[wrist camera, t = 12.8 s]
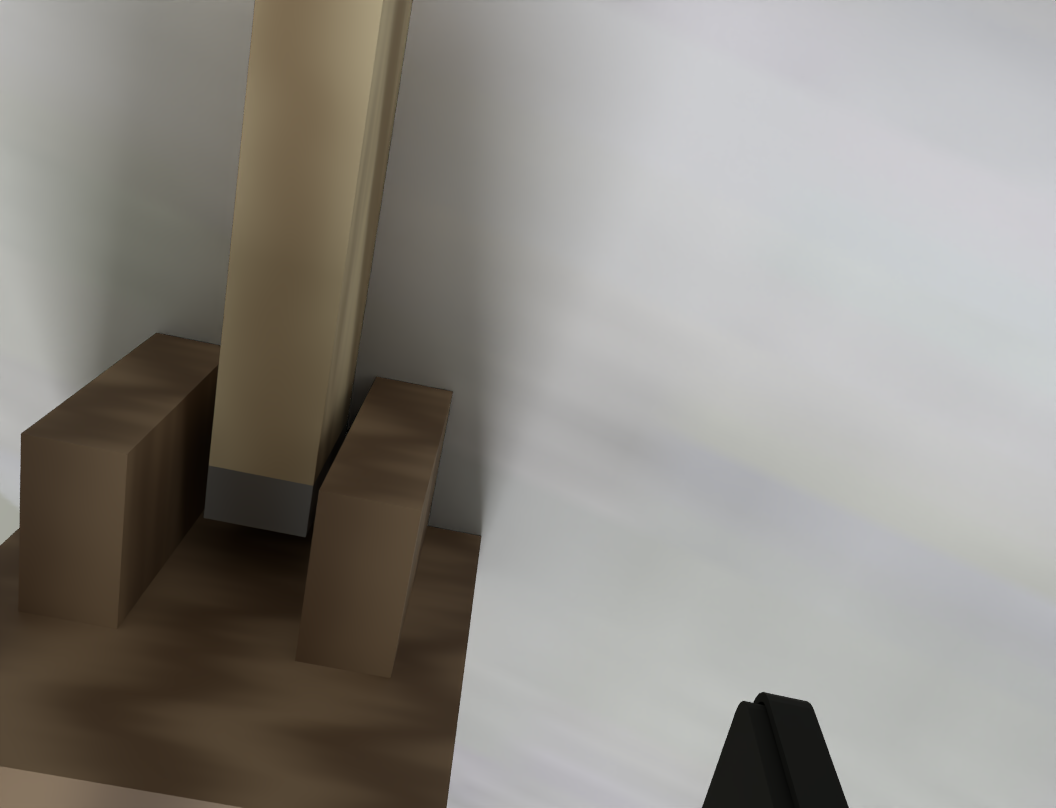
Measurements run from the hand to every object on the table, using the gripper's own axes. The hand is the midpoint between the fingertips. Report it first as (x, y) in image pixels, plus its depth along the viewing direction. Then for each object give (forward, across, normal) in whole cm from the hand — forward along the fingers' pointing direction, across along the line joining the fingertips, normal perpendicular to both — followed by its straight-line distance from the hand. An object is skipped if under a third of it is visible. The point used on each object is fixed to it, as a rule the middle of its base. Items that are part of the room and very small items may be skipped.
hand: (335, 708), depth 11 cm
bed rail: (+25, +6, -2) cm, 26 cm away
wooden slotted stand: (+25, +7, +9) cm, 28 cm away
